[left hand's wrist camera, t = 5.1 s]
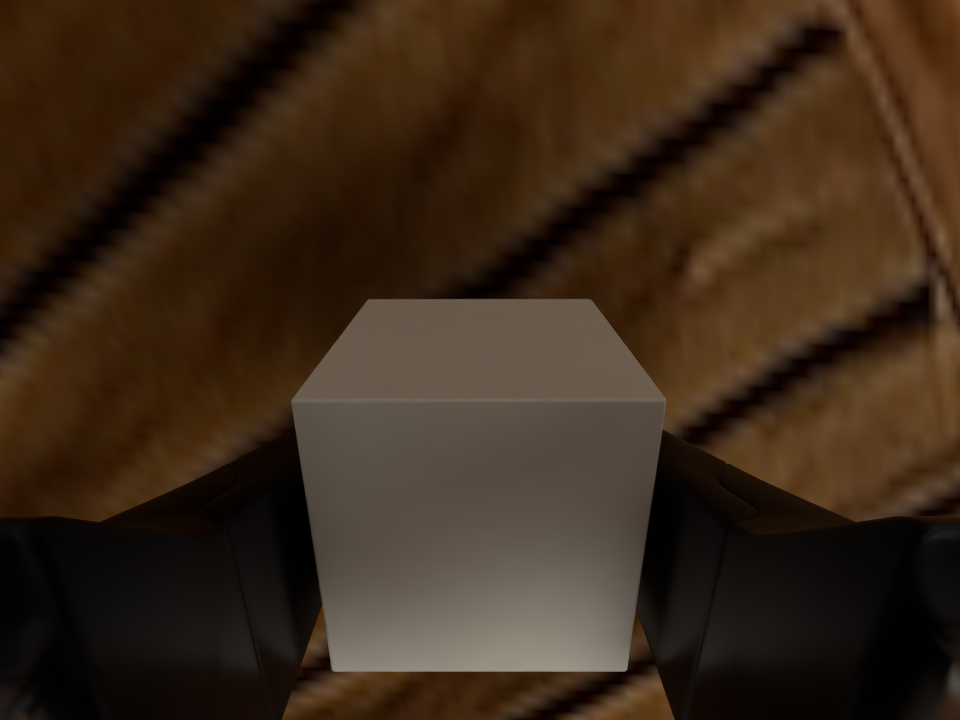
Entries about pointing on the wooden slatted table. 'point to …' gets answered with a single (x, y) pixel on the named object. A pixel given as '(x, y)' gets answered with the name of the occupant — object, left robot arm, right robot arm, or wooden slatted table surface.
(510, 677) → the wooden slatted table surface
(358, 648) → the block
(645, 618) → the left robot arm
